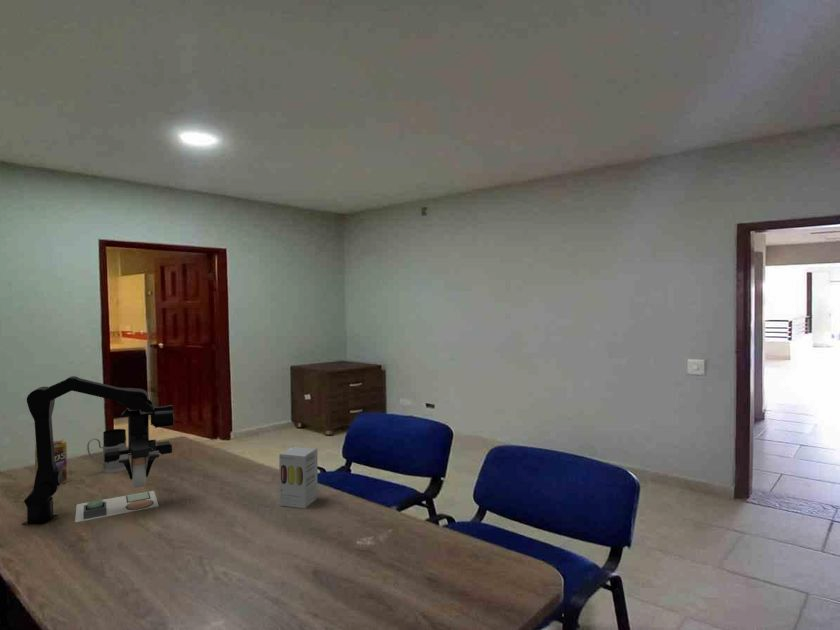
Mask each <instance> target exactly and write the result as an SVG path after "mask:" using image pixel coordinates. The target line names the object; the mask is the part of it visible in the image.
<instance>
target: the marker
mask: <svg viewBox="0 0 840 630" xmlns="http://www.w3.org/2000/svg"><path fill="white" fill-rule="evenodd" d="M130 461H131V462H130V466H131V472H132V480H131V488H142V487H144V486H147V477H146V465H147V457H145V458H144V457H141V458H137V459H132V458H130Z"/></svg>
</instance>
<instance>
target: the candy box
mask: <svg viewBox="0 0 840 630" xmlns="http://www.w3.org/2000/svg"><path fill="white" fill-rule="evenodd" d="M53 443H54V457H55V463H56V465H57V467H61V466H63V473H62V474H63V477H64V480H63V481H62V483H61V485H62V484H67V482H68V479H67V477H68V474H67V473H68V471H67V468H68V466H67V465H68V463H67V461H68V460H67V458H68V457H67V456H68V455H67V453H68V452H67V451H68V448H67V441H66V439H61V440H53ZM34 447H35V448H34V456H35V457H34V466H35V467H34V473H35V474H34V475H35V477H36V473H37V468H38V463H37V450H36V443H35V445H34ZM35 477H34V478H35Z"/></svg>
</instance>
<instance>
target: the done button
mask: <svg viewBox="0 0 840 630" xmlns="http://www.w3.org/2000/svg"><path fill="white" fill-rule="evenodd" d="M102 500H103V499H96V500H91V501H89V503H88V502H86V503H87V509H88V510H93V509H98V508H101V507H103V501H102Z"/></svg>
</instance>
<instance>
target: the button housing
mask: <svg viewBox="0 0 840 630" xmlns="http://www.w3.org/2000/svg"><path fill="white" fill-rule="evenodd" d="M83 513H84V519H88V518H94V517H99V516H104V515H106V501H105V502H103V507H101V508H98V509H93V510H88V509H87V505H84V511H83Z"/></svg>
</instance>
